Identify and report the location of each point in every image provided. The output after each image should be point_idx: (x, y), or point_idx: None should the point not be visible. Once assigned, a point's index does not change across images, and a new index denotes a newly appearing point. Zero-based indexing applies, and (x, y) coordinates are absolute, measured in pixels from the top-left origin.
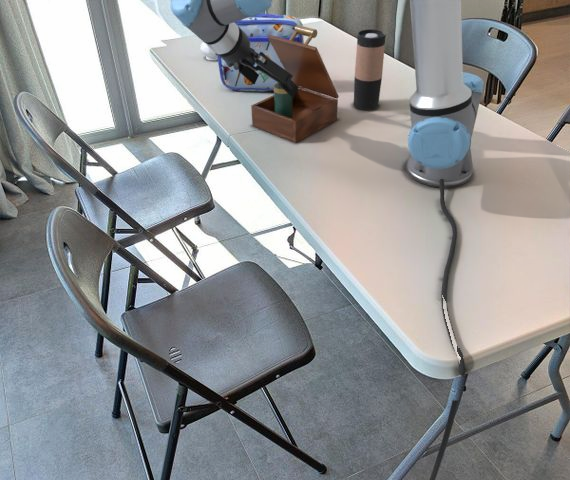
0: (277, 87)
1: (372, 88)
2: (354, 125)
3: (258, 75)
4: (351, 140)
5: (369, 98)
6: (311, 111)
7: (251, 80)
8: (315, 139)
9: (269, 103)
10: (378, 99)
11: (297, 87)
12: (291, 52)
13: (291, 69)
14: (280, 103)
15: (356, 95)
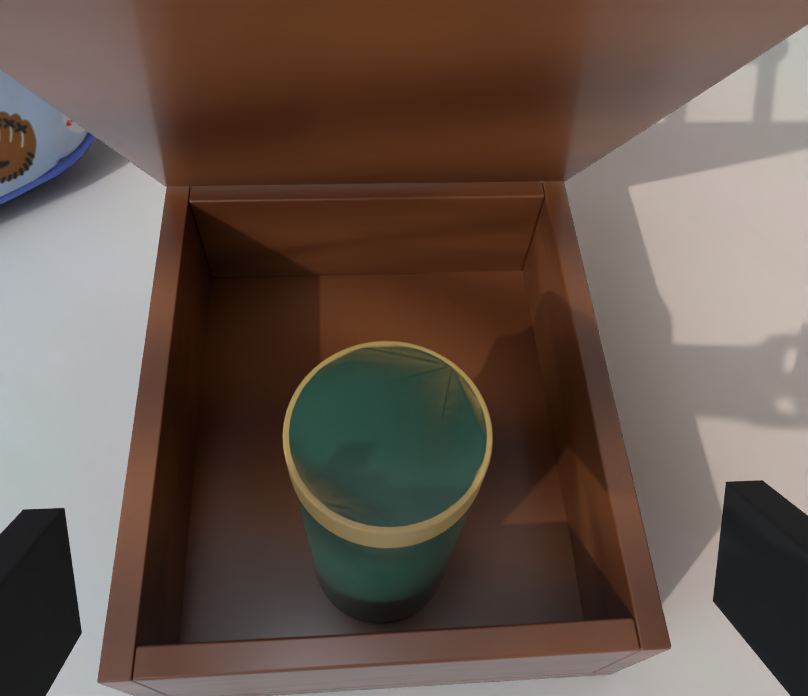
0: (378, 504)
1: None
2: (651, 260)
3: (63, 523)
4: (794, 398)
5: None
6: (596, 414)
7: (46, 681)
8: (652, 532)
9: (167, 476)
10: None
11: (776, 500)
12: (312, 36)
13: (199, 139)
14: (423, 563)
15: None
